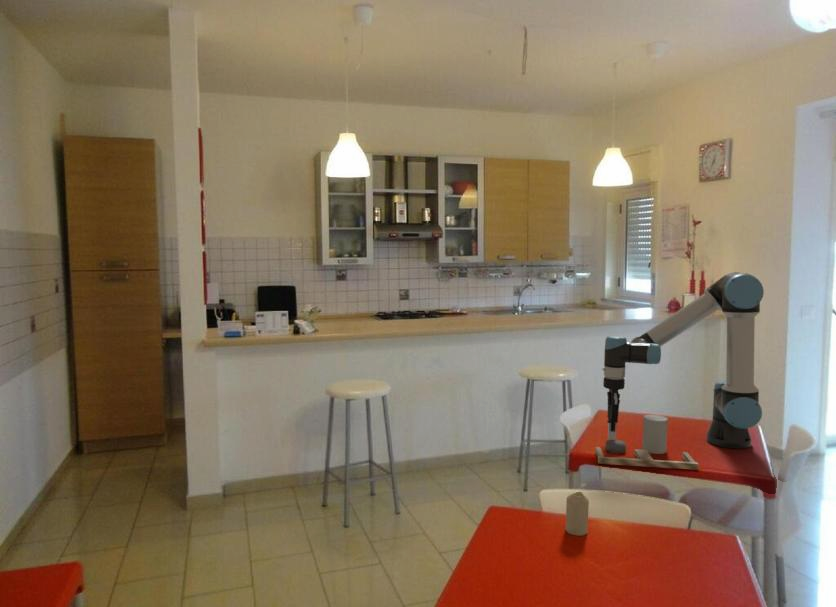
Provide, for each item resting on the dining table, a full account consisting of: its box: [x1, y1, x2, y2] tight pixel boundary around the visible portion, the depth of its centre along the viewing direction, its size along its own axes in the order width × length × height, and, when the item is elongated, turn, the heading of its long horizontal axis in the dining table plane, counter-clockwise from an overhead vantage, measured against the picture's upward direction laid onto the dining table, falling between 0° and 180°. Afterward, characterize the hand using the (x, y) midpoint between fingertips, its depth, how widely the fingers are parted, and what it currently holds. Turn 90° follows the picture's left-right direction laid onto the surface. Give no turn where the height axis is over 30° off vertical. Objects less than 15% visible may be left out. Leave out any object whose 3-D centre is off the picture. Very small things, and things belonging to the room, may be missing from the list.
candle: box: [565, 491, 590, 537], centre depth 155 cm, size 6×6×10 cm
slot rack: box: [595, 446, 699, 471], centre depth 207 cm, size 32×12×2 cm, turn 81°
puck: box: [605, 439, 627, 454], centre depth 218 cm, size 7×7×3 cm
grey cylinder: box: [641, 414, 669, 455], centre depth 218 cm, size 8×8×12 cm
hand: (611, 438), depth 226 cm, fingers closed
